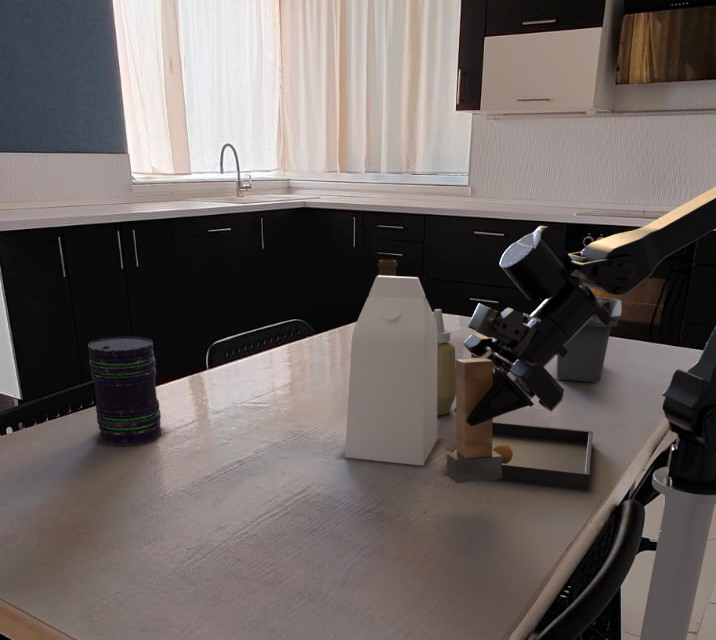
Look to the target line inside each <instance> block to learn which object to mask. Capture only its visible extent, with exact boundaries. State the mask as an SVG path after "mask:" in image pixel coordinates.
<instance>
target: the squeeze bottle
mask: <svg viewBox="0 0 716 640" xmlns="http://www.w3.org/2000/svg"><path fill="white" fill-rule="evenodd" d="M433 314H434V317H435V319H436V323H437V331H438V345H437V416H442V415H446V414H449V412H450V411H451V408H452V406H453V403H454V401H455V399H456V346H455V345H454V344H453V343H451V342H450V341H451V331H450V330H449V329H445V324H444V318H443V311H442V309H440V308H438V309H437V308H436V309H434V310H433Z"/></svg>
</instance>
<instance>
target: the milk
mask: <svg viewBox="0 0 716 640" xmlns="http://www.w3.org/2000/svg"><path fill="white" fill-rule="evenodd" d="M437 345H438V331H437V323H436V319H435V317H434V311H433V310H432V308H431V305H430V303H429V301H428V299H427V298H426V294H425V291H424V289H423V286H422V284H421V281H420V278H419V277H418V276H399V275H396V276H380V275H379V274H378V275H377V276H375V279H374V281H373V283H372V286H371V288H370V291H369V293H368V296H367V298H366V300H365V302H364V305H363V307H362V309H361V312H360V313H359V316H358V319H357V321H356V323H355V326H354V328H353V331H352V336H351V345H350V362H349V363H350V364H349V381H348V396H347V397H348V398H347V413H346V414H347V415H346V430H345V431H346V433H345V447H344V450H345V451H344V458H348V459H356V460H357V459H359V460H367V461H376V462H385V463H395V464H405V465H414V466H424V465H425V463H426V461H427V460H428V458H429V456H430V454H431V452H432V451H433V448H434V447H435V445H436V443H437V442H438V415H437Z"/></svg>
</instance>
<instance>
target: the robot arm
mask: <svg viewBox="0 0 716 640" xmlns="http://www.w3.org/2000/svg"><path fill="white" fill-rule="evenodd" d="M715 230H716V185H715V186H713V187H712V188H710V189H708V190H707V191H705V192H703V193H701V194H700V195H698V196H696V197H694V198H693V199H691V200H689V201H687V202H685V203H684V204H681V205H679V206H678V207H676V208H674V209H673V210H671V211H669V212H668V213H666V214H663V215H662V216H661V217H658V218H657V219H655V220H652V222H649V223H648V224H646V225H644V226H642V227H639V228H636V229H633V230H628V231H624V232H619V233H615V234H612V235H610V236H606V237H604V238H600V239H598V240H595V241H593V242H590V243H589V244H588V245H586V246H585V247H584V248H583V249H582V250H581V251H576V252H572V253H568V252H567V250H565V248H564V247H563V246H562V244H561V243H560V242H559V241H558V239H557V236H556V234H555V233H554V232H553V230H552V229H551V227H549V226H544V225H539V226H538V227H536V229H535V230H534V231H533V232H530V233H528V234H526V235H524V236H523V237H522V238H520V239H519V240H517V241H516V242H513V243H511V244H510V246H509V247H508V248H507V249H506V250H505V251H504V253H503V254H502V256H501V257H500V260H499V267H500V268H502V270H503V271H504V272H505V274H506V275H507V276H508V277H509V278H510V279H511V281H512V282H513V283H514V284H515V285H516V286H517V288H518V289H519V290H520V291H521V292H522V294H524V296H525V297H526V299H528V300H529V301H536V300H537V301H538V300H540V301H542V303H541V304H540V305H539V306H538V307H537V308H535V310H534V311H533V312H532V313H531V314H528V313H525V312H523V313H521V312H520V311H517V310H515V309H513V308H511V307H507V308H505V309H504V310H503V311H501V312H500V311H498V310H496V309H493V308H491V307H489V306H486V305H483V304H482V303H480V302H479V303H478V304H477V306H476V308H475V310H474V313H473V314H472V316H471V318H470V321H469V323H468V325H467V328H468V329H471V330H473V331H475V332H476V333H472V334H471V335H470V336H469V337H468V338H467V339H466V340H465V341H464V342H463V343H462V345H463V346H464V347H465V348H466V350H467V351H469V353H470V354H471V355H470V358H485V359H489V360H492V361H493V386H492V387H491V388H490V389H489V391H488V392H487V393H486V394H485V396H484V397H483V398H482V399H481V401H480V402H479V403H478V405H477V406H476V407H475V408H474V410H473V411H472V412H471V414H470V415H469V417H468V418H467V420H466V421H467V422H468V423H469V424H470V425H471V426H474V425H477V424H479V423H482V422H484V421H487V420H489V419H492V420H493V419H494V418H497V417H500V416H502V415H505V414H509V413H511V412H513V411H517V410H519V409H523V408H526V407H530V408H532V407H533V406H535V403H534V402H533V401H532V399H533V398H534V397H537V398H538V403H539V405H540V406H542V407H543V408H545V409H546V410H548V411H549V412H553V411H554V410H555V408H557V406H558V405H560V404H561V402H563V399H564V391H565V389H564V387H562V386H561V384H559V382H558V381H557V380H556V379H555V378H554V377H553V376H552V374H551V373H550V372H549V371H548V370H547V369H546V368H545V367H547V365H548V364H549V363H550V362H552V360H553V359H554V358H555V357H557V356H559V357H561V358H563V357H564V356H565V355H566V354H567V353H568V351H567V350H566V349H565V347H564V346H565V345H566V344H567V343H568V342H569V341H570V340H571V339H572V338H573V337H574V336H575V335H576V334H577V333H578V332H579V331H580V330H581V329H582V328H583V327H584V326H585V325H586V324H587V323H588V322H589V321H590V320H592V321H595V322H598V323H601V324H604V325H609V323H610V313H609V309H610V305H611V303H610V302H607V301H604V300H598V298H597V297H598V296H596V295H595V293H594V292H593V291H592V290H591V289H595V290H598V291H600V292H604V293H608V294H609V295H610V294H611V295H615V296H623V295H625V294H627V293H630V292H631V291H632V290H633V289H635V288H636V287H637V286H639V285H641V283H643V282H644V281H645V280H646V279H647V278H649V277H651V275H653V273H654V271H655V270H656V268H657V267H658V265H659V264H660V263H661V262H662V261H664V260H665V259H666V258H667V257H669V256H671V255H673V254H674V253H676V252H678V251H680V250H681V249H683V248H685V247H687V246H688V245H690V244H692V243H693V242H696V241H697V240H699V239H701V238H703V237H704V236H706V235H708V234H709V233H711V232H713V231H715ZM572 276H573V277H577V278H579V279H580V282H581V283H582V284H583V285H581V284H580V285H579V284H578V283H577V282H576V281H575V279H574V278H573V277H572ZM662 397H665V398H664V400H663V403H662V411H663V413H664V417H665V418H666V420H667V421H668V428H669V431H670V432H671V433H674V434H676V439H675V440H676V441H675V443H672V444H671V445H670V449H669V454H668V459H667V465H666V467H667V475H668V477H670V480H671V485H673V486H680V487H689V488H698V489H707V490H715V491H716V325H715V326H714V329H713V331H712V332H711V334H710V337H709V339H708V341H707V343H706V345H705V346H704V348H703V351H702V353H701V355H700V357H699V359H698V360H697V361H696V363H695V364H693V365H692V366H691V367H690V368H689V369H687V370H686V371H685V370H683V369H681V368H677V369H676V370H675V371H674V373H672V378H671V381H670V383H669V385H668V387H667V388H666V390H665V391H664V392H663V393H662ZM454 412H455V413H456V407H455V408H454Z"/></svg>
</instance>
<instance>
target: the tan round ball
mask: <svg viewBox="0 0 716 640" xmlns="http://www.w3.org/2000/svg"><path fill="white" fill-rule="evenodd" d="M493 451H495V452H496V453H498V454H499V455H501V456H502V463H503V464H507V463H508V462H510V460H511V459H512V456H513V452H512V449H511V448H510V447H509V446H508V445H506V444H499V445H497V446H495V447H494V449H493Z"/></svg>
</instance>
